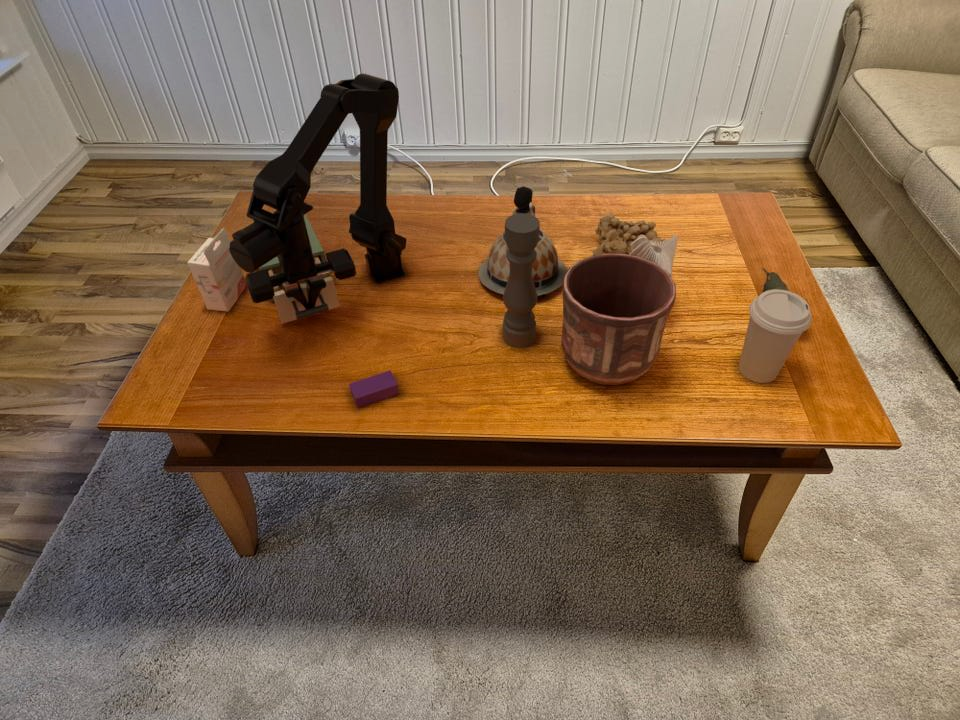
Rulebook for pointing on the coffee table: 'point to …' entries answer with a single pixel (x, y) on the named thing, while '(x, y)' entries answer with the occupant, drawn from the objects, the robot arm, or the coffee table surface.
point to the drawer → (294, 309)
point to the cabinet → (315, 247)
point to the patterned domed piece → (544, 268)
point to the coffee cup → (772, 333)
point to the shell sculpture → (656, 251)
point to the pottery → (614, 316)
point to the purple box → (374, 388)
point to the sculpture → (774, 282)
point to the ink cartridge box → (217, 273)
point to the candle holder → (520, 280)
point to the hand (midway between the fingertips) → (310, 310)
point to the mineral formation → (622, 235)
